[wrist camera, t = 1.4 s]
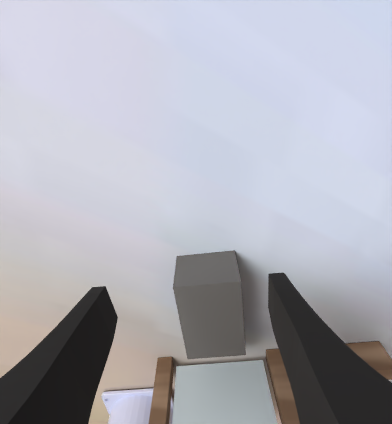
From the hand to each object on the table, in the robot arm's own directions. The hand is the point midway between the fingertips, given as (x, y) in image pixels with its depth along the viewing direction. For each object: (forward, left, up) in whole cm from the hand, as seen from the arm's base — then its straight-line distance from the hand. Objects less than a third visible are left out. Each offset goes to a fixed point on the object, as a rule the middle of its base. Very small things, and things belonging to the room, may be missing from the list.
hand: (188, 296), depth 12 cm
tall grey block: (-10, 0, -11) cm, 15 cm away
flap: (-19, 0, -10) cm, 21 cm away
